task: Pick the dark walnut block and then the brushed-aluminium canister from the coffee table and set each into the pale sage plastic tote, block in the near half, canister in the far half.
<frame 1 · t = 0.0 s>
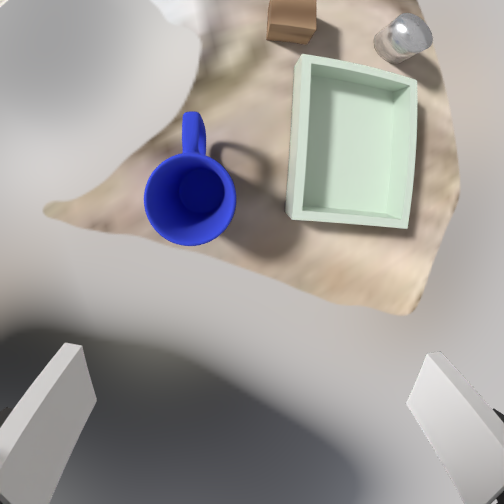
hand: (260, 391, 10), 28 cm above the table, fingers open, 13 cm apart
canister: (390, 47, 31), on the table
walnut block: (287, 26, 30), on the table
tote: (346, 144, 35), on the table
mug: (202, 174, 35), on the table
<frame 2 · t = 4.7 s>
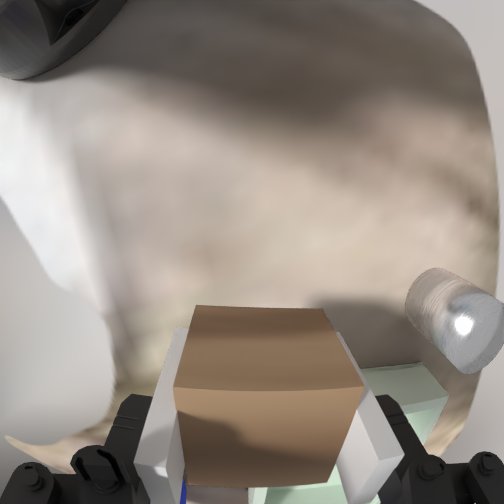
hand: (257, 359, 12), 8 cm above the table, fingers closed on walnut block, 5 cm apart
canister: (431, 298, 21), on the table
walnut block: (256, 359, 13), point 8 cm above the table, touching gripper
tote: (327, 442, 24), on the table
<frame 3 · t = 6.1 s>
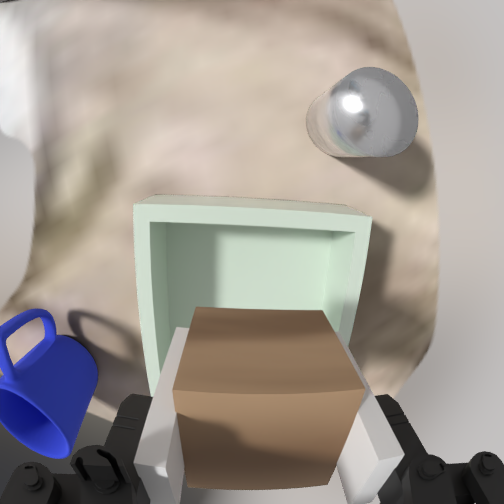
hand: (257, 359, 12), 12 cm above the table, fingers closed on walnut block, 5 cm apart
canister: (339, 124, 21), on the table
walnut block: (256, 361, 13), point 11 cm above the table, touching gripper
tote: (245, 312, 24), on the table
mug: (67, 342, 25), on the table
when the fingers open (5 cm above the table, at t = 7.5 s): walnut block drops 4 cm, resting on tote.
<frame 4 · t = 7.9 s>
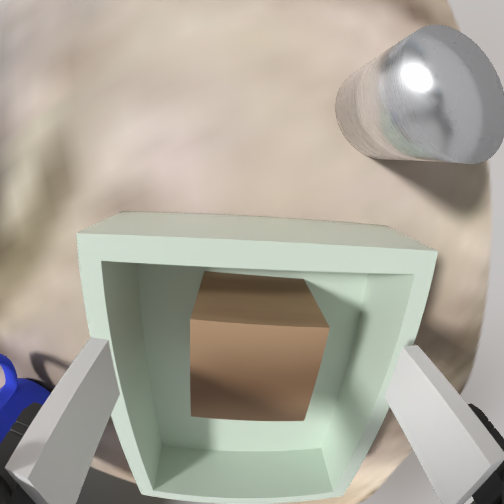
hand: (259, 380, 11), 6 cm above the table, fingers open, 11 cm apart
canister: (379, 113, 14), on the table
walnut block: (249, 319, 16), point 1 cm above the table, touching tote
tote: (248, 366, 18), on the table
mug: (35, 386, 18), on the table
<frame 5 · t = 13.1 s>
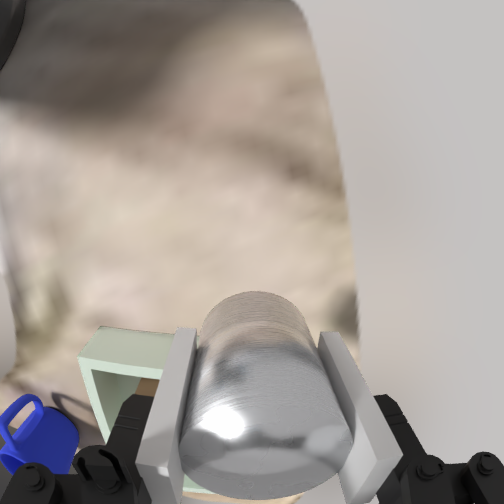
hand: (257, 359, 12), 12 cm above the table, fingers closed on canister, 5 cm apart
canister: (254, 340, 14), point 10 cm above the table, touching gripper
walnut block: (176, 386, 26), point 1 cm above the table, touching tote
tote: (181, 409, 27), on the table
mug: (53, 411, 28), on the table
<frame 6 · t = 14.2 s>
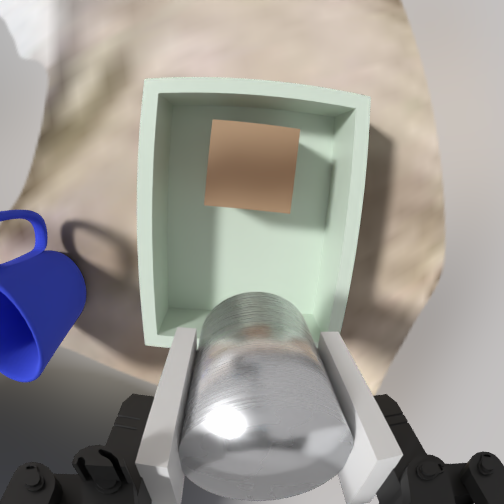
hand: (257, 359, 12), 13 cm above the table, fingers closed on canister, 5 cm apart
canister: (254, 341, 14), point 11 cm above the table, touching gripper
walnut block: (249, 165, 22), point 1 cm above the table, touching tote
tote: (247, 213, 23), on the table
mug: (58, 261, 24), on the table
when the fingers open (5 cm above the table, at t = 16.0 s): canister drops 2 cm, resting on tote.
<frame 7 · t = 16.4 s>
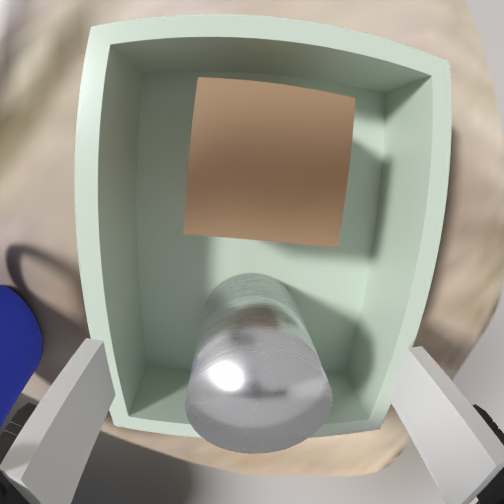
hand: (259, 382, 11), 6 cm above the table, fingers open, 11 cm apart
canister: (250, 317, 16), point 1 cm above the table, touching tote
walnut block: (260, 162, 14), point 1 cm above the table, touching tote
tote: (257, 236, 15), on the table
mug: (7, 297, 16), on the table
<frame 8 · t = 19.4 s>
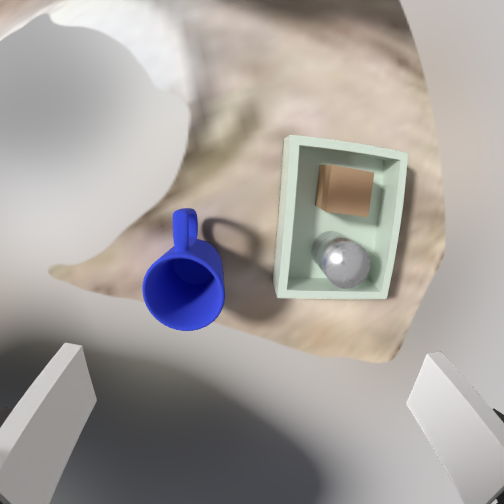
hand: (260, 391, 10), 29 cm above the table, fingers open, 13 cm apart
canister: (330, 250, 38), point 1 cm above the table, touching tote
walnut block: (336, 187, 36), point 1 cm above the table, touching tote
tote: (333, 216, 38), on the table
mug: (195, 247, 38), on the table
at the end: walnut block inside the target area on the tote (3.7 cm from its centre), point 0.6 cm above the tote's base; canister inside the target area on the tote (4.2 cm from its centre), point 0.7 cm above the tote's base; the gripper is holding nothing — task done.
